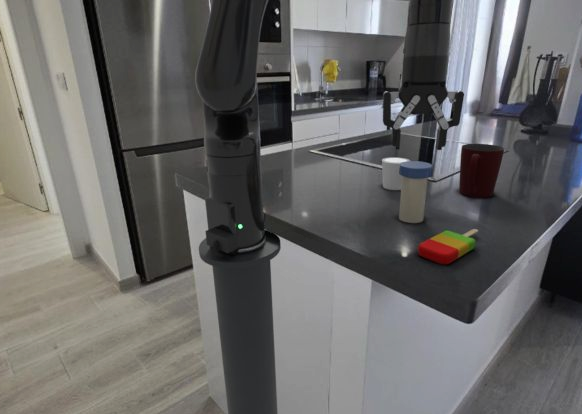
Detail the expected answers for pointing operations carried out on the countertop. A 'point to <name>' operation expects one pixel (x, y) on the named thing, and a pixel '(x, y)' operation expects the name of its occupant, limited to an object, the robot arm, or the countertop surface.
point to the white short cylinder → (392, 173)
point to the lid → (415, 169)
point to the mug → (479, 169)
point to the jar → (412, 199)
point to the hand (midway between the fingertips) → (417, 148)
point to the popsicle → (447, 246)
